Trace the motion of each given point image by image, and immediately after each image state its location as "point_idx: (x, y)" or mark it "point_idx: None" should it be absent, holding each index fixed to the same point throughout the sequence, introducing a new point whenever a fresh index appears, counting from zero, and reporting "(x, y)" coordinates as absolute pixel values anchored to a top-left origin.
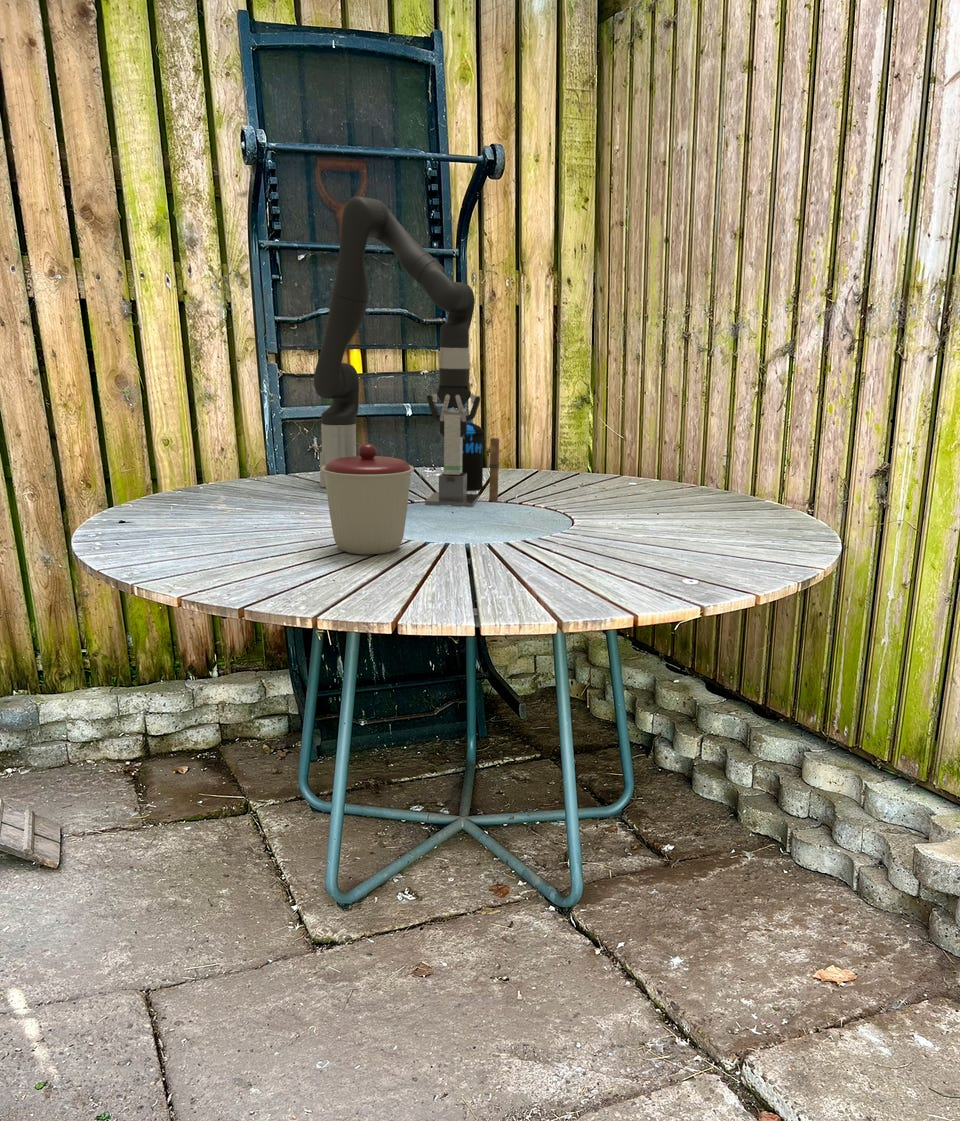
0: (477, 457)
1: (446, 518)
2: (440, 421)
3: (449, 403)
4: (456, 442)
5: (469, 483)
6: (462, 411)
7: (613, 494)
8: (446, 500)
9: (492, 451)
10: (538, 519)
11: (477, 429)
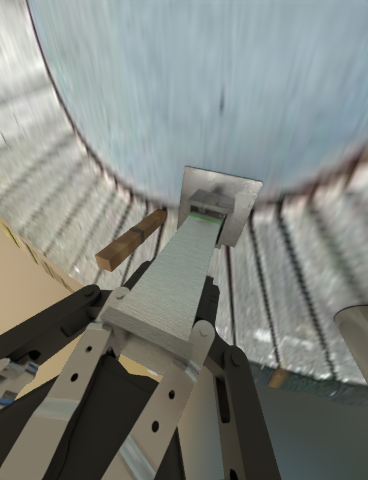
0: None
1: (244, 10)
2: (212, 326)
3: (134, 418)
4: (178, 244)
5: None
6: (96, 325)
7: (72, 235)
8: (224, 187)
9: (122, 244)
10: (84, 58)
11: None
